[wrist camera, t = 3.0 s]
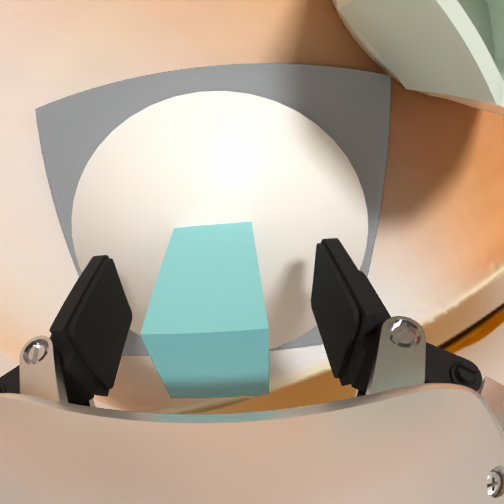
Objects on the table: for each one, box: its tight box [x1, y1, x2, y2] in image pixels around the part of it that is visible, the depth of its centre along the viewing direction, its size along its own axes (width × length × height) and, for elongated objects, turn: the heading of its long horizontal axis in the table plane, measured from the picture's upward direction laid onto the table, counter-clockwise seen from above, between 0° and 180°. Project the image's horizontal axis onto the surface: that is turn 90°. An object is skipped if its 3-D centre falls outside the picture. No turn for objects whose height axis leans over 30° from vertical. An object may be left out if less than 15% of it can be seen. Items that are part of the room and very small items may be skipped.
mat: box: [36, 63, 391, 356], centre depth 13 cm, size 15×15×1 cm
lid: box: [71, 91, 368, 398], centre depth 10 cm, size 13×13×6 cm
